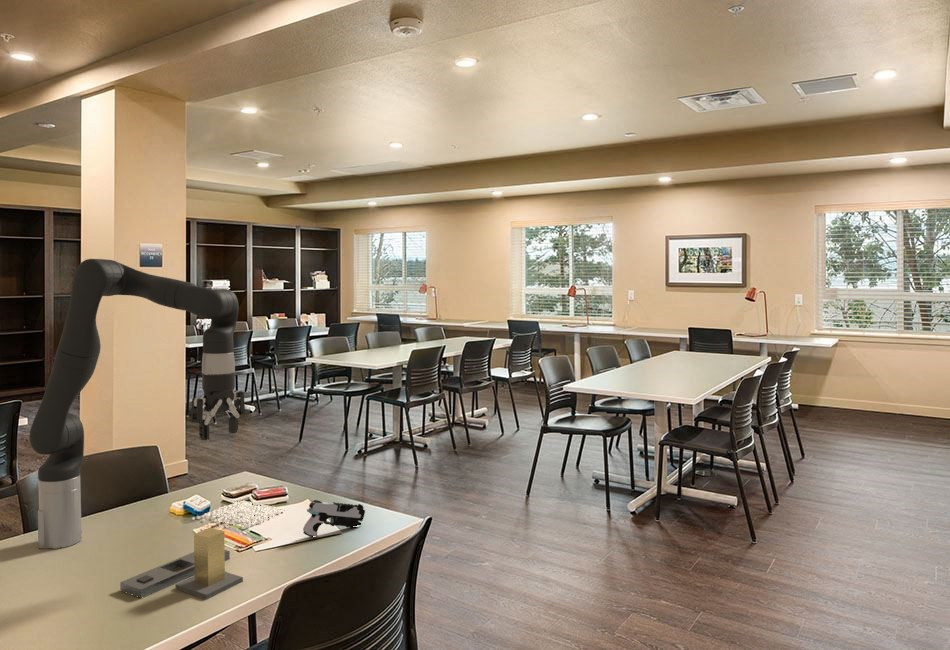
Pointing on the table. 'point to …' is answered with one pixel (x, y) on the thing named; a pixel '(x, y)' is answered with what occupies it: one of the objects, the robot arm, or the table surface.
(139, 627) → the table surface
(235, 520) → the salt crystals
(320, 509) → the toy gun
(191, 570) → the rail
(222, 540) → the brass block
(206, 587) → the mat
